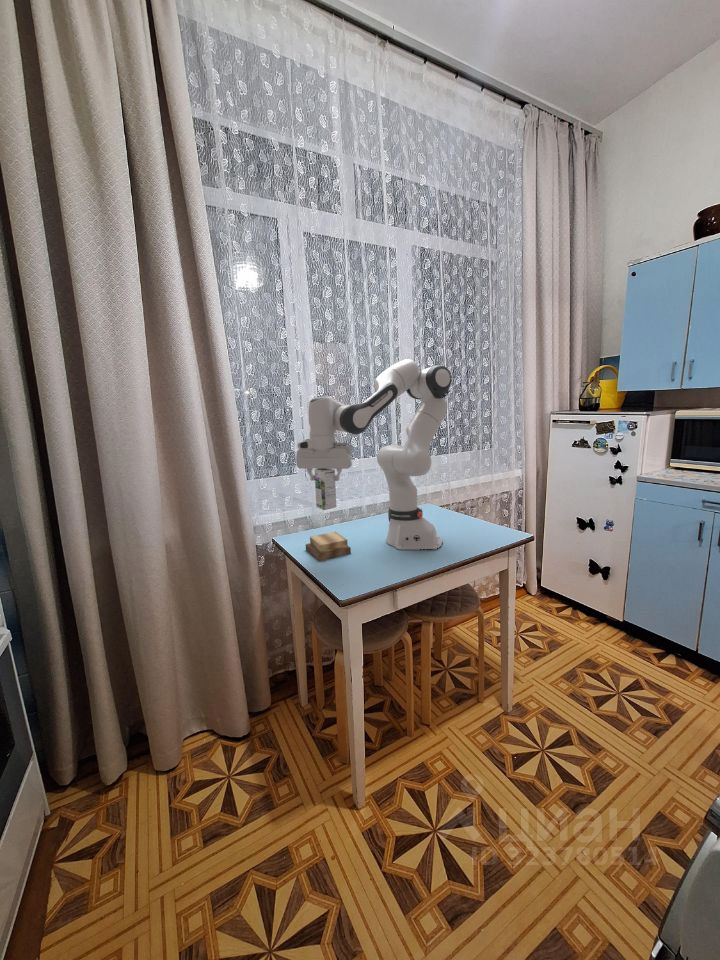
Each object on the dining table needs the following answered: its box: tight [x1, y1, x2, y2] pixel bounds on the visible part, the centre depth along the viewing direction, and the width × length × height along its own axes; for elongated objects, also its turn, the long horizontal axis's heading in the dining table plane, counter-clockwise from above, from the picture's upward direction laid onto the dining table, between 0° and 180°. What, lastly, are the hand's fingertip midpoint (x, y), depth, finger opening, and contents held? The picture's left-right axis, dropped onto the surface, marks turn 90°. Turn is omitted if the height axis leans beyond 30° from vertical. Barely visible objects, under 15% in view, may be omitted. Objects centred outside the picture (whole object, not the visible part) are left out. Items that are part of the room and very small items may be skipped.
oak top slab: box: [309, 531, 349, 553], centre depth 151 cm, size 11×11×3 cm
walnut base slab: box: [305, 542, 352, 562], centre depth 151 cm, size 13×13×3 cm
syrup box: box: [313, 469, 337, 511], centre depth 144 cm, size 6×6×14 cm
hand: (325, 480), depth 143 cm, fingers closed on syrup box, 8 cm apart
